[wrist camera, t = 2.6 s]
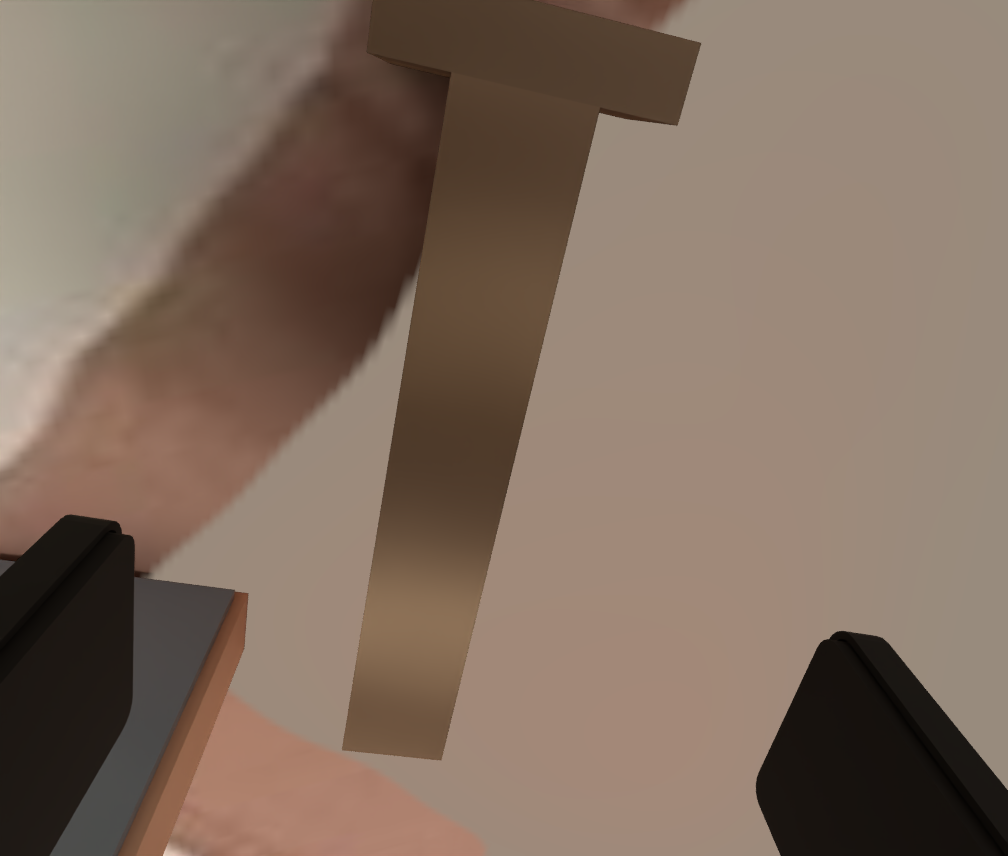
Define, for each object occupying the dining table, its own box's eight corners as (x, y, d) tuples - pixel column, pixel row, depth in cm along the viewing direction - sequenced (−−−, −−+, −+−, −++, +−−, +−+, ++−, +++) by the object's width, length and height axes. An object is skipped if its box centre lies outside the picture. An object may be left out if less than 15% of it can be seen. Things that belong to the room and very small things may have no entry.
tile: (-25, 548, 19) (-405, 901, 10) (249, 584, 20) (96, 933, 11) (-17, 617, 19) (-360, 990, 11) (244, 648, 20) (100, 1013, 12)
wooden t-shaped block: (399, -4, 14) (377, -39, 10) (641, 56, 15) (701, 42, 11) (317, 629, 20) (286, 744, 17) (488, 650, 21) (493, 765, 17)
